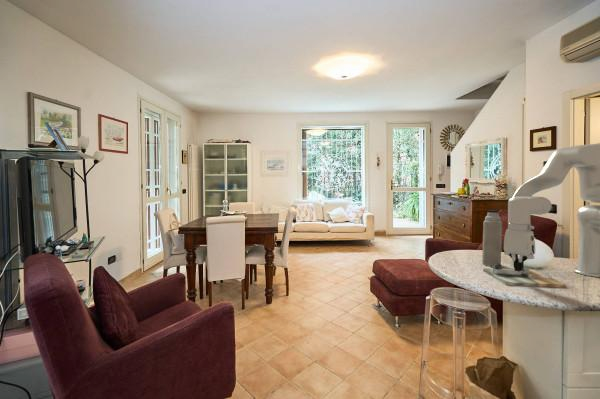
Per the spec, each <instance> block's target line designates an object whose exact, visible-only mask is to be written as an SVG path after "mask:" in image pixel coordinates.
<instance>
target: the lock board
mask: <svg viewBox="0 0 600 399" xmlns="http://www.w3.org/2000/svg"><path fill="white" fill-rule="evenodd" d="M494 268H495V266H493V267H492V268H485V267H484V268H483V269H482V270H483V272H485V273H486V274H488V275H489V276H491V277H492V278H494V279H496V280H497V281H498V282H500V283H502V284H503V285H505V286H517V287H518V286H520V287H521V286H523V287H524V286H526V287H541V288H542V287H546V288H547V287H548V288H549V287H550V288H567V284H566V283H563V282H561V281H559V280H557V279H554V278H552V277H551V276H548V275H546V274H543V273H542V272H539V271H537V270H534V269H529V276H520V275H508V274H496V273H495V272H494ZM501 268H503V266H501Z"/></svg>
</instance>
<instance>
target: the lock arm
mask: <svg viewBox="0 0 600 399" xmlns="http://www.w3.org/2000/svg"><path fill="white" fill-rule="evenodd" d="M501 267H502V263H501V264H495V268H494V272H495V273H496V274H508V275H520V276H529V270H530V268H528V267H524V268H523V270H522V271H515V270H514V268H505V267H502V268H501Z"/></svg>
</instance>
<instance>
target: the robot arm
mask: <svg viewBox="0 0 600 399" xmlns="http://www.w3.org/2000/svg"><path fill="white" fill-rule="evenodd" d="M546 161H547V162H546V163H545V164H544V166H543V167H542V169H541V171H540V172H539V173H538V174H537V175H535V176H534V177H532V178H530V179H529V180H527V181H526V182H524V183H523V184H521V185H520V186H519V187H518V188H517V189H516V191H515V192H514V194H513V196H512V197H511V198H509V199H508V201H507V202H508V203H507V229H506V230H505V233H504V238H503V239H504V240H503V251H504V252H503V254H504V255H506V256H507V257H510V259H512V260H511V261H513V269H514V270H515V271H522V270H523V268H525V266H524V262H526V261H527V260H534V259H535V254H536V240H535V236H534V235H535V234H534V231H532V230H534V229H535V226H534V225H532V223H531V215H538V216H539V215H541V216H542V215H545V214H548V213H549V212H550V211H551V209H552V206H553V205H552V202H551V200H549V199H548V198H546V197H544V196H535V195H536V193H537V194H538V193H540V192H542V191H545V190H548V189H551V188H554V187H557V186H559V185H562V183H564V180H565V179H566V177H567V175H568V174H569V172H570V171H571V169H572V168H575V170H576V171H577V173H578V179H579V180H578V182H579V184H578V185H579V192H580V193H579V196H580V198H581V200H582V201H584V202H586V203H587V202H588V203H597V204H587V205H583V206H581V207H579V208H578V210H577V213H576V217H577V222H578V248H577V250H578V252H577V253H578V254H577V255H578V256H577V266H575V267H573V268H572V271H573V272H575V274H579V275H583V276H588V277H594V278H600V142H599V143H590V144H579V145H573V146H569V147H562V148H558V149H556V150H554V151H553V152H552V154H551V155H550V156H549V158H548V160H546ZM533 195H534V196H533Z"/></svg>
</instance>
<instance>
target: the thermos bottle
mask: <svg viewBox="0 0 600 399" xmlns="http://www.w3.org/2000/svg"><path fill="white" fill-rule="evenodd" d="M499 212H500V211H499V210H496V209H495V210H493V209H488V210H487V214H486V216H485V218H484V221H483V224H482V225H483V226H482V227H483V231H482V232H483V233H482V257H481V258H482V259H481V261H482V265H483V266H486V267H487V266H488V267H491V268H493V266H495V264H501V265H502V241H503V240H502V239H503V221H502V220H501V216H500V215H499Z"/></svg>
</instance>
